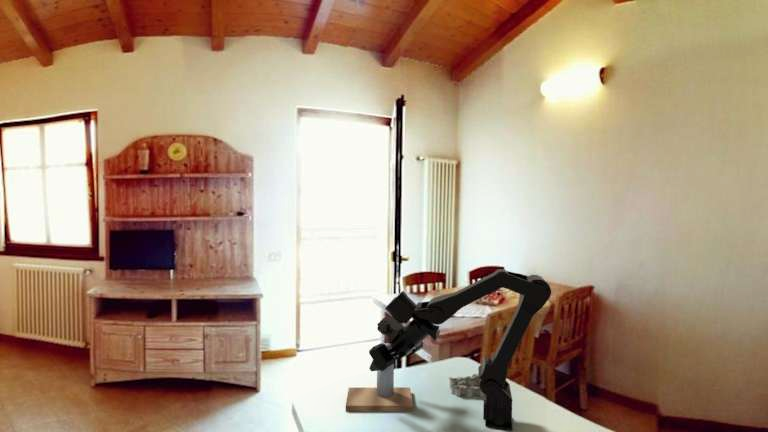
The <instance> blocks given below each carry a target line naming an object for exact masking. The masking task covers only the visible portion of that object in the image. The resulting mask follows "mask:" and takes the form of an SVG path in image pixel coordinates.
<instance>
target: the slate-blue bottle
mask: <svg viewBox="0 0 768 432" xmlns="http://www.w3.org/2000/svg"><path fill="white" fill-rule="evenodd" d="M382 344H385V345H386V347H387V348H388V350H390V349H391V343H387V342H384V343H382ZM394 382H395V363H394V364H393V365H392V366H390V367H389V368H387V369H386V370H384V371H381V370H378V371H376V388H377V395H378V396H380V397H391V396H392V395H393V394H394V387H395V386H394V384H395V383H394Z"/></svg>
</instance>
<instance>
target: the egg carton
mask: <svg viewBox="0 0 768 432" xmlns="http://www.w3.org/2000/svg"><path fill="white" fill-rule="evenodd" d="M448 379H449V380H448V381H449V389H450V390H451V392H450V393H451V395H454V396H455V397H460V396H461V395H465V396H467V397H473V395H477V396H479V397H481V398H482V397H484V396H486V395H485V394H483V392H482V391H481V389H480V382H479V373H475V374H472V375H470V376H469V375H467V376H457V377H450V376H449V377H448Z"/></svg>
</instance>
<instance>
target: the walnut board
mask: <svg viewBox="0 0 768 432" xmlns="http://www.w3.org/2000/svg"><path fill="white" fill-rule="evenodd" d="M412 397H413V396H412V390H411V387H410V386H409V387H395V386H394V394H393V395H392V396H391V397H380V396H378V395H377V387H348V390H347V396H346V402H345V411H346V412H413V411H414V403H413V398H412Z"/></svg>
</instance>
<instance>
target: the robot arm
mask: <svg viewBox="0 0 768 432" xmlns="http://www.w3.org/2000/svg"><path fill="white" fill-rule="evenodd" d="M502 288H503V289H507V290H509V291H512V292H514V293H516V294H519V298H518V302H517V303H518V304H517V306H516V309H515V310H514V312H513V315H512V317H511V319H510V320H509V323H508V325H507V327H506V328H505V332H504V333H503V335H502V337H501V339H500V341H499V344H498V345H497V347H496V349H495V351H494V353H493V354H492V355H491V356H490V357H489V356H487V355H486V354H485V355H484V356H483V359H482V363H481V364H480V365H479V366H478V368H477V369H478V374H479V382H480V386H479V387H480V389H481V391H482V392H483V394H485V395H484V396H485V398H484V399H483V420H484V423H485V424H484V425H485V427H487V428H491V429H493V428H494V429H500V430H507V431H513V427H514V426H513V395H512V392H511V385H510V383H509V382H508V381H507V377H508V371H509V367H510V363H511V361H512V359H513V358H514V355H515V353H516V351H517V350H518V348H519V346H520V343H521V342H522V340H523V337H524V336H525V334H526V332H527V329H528V327H529V326H530V323H531V321H532V319H533V317H534V316H535V315H536V314H537V313H538V312H540V311H541V310H542V309H543V307H544V306H545V305H546V303H547V302H548V301H549V300H550V298H551V295H552V289H551V286H550V285H549V283H548V282H547V281H546V279H544V278H543V277H542V276H541V275H538V274H530V275H525V274H523V273H517V272H513V271H509V270H506V269H503V268H498V269H496V270H495V271H494V272H492V273H491V274H489V275H487V276H485V277H483V278H481V279H479V280H477V281H475V282H473V283H471V284H469V285H467V286H464V287H463V288H461V289H458V290H457V291H455V292H450V293H444V294H442V295H439V296H435V297H432V298H431V299H430V300H429V301H422V302H417V303H415V302H414V301H413V300H412V299H411V298H410V297H409V296H408V294H407V293H406V292H405V291H404V290H402V291H401V292H400V293H399V294H398V295H397V296H395V297H394V298H393V299H392V300H391V301H390V302H389V303H388V304H387V305H386V307H385V308H384V310H386V311H387V313H388V314H389V315H388V316H386V317H383V318H382V319H381V320H380V321H379V322H378V323H377V324H376V325H377V331H378V332H379V333H380V334H382V335H383V336H384V335H385V336H386V337H388V338H387V341H388V342H389V344H390V347H391V348H390V350H388V348H387V347H386V345H385V344H382V343H379V344H376V345H374V346H372V347H371V348H370V350H369V352H368V354H369V355H370V356H371V359H372V361H371V363H370V366H369V370H370V371H371V372H377V371H378V370H381V371H384V370H386V369H387V368H389V367H390V366H392V365H393V364H394V365H395V360H398V359H402V358H405V357H409V356H412V355H414V354H416V353H417V352H419V351H420V350H421V349H422V348H424V342H423V341H424V340H425V339H426V338H427V337H431V339H433V340H434V341H436V340H437V339H438V338H439V335H440V334H441V332H440V325H441V324H444V323H445V322H447V321H448V320H449V319H451V318H452V317H453V316H454V315H455V314H456V313H457V312H459V310H462V308H465V307H466V306H468V305H470V304H472V303H474V302H476V301H478V300H480V299H483V298H484V297H487V296H488V295H490V294H492V293H495V292H496V291H498V290H500V289H502ZM411 319H412V320H411ZM409 321H410V322H409ZM407 323H408V324H407ZM403 324H406V325H405V326H404V325H403Z"/></svg>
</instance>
